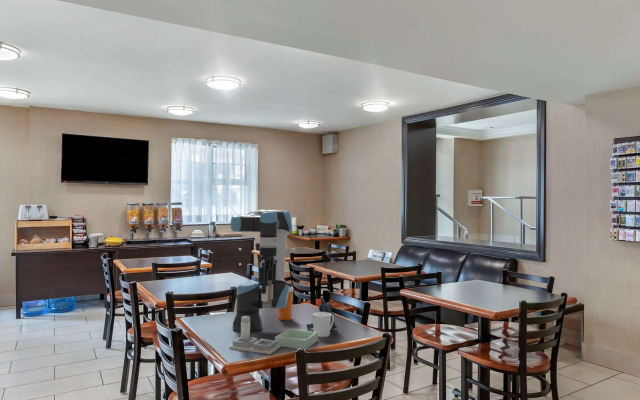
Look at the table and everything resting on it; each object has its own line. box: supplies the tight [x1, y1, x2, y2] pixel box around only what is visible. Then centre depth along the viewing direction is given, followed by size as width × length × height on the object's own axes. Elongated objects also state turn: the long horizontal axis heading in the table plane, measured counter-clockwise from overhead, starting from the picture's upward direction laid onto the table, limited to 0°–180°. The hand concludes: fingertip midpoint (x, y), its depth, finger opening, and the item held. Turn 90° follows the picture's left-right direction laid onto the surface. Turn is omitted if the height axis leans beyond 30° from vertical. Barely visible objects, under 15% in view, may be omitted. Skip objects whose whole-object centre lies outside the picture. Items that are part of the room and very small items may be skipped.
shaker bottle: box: [277, 282, 294, 321], centre depth 240 cm, size 9×9×20 cm
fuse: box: [240, 316, 251, 342], centre depth 189 cm, size 4×4×12 cm
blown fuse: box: [261, 279, 272, 309], centre depth 186 cm, size 4×4×12 cm
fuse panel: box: [228, 336, 281, 355], centre depth 187 cm, size 20×10×3 cm, turn 69°
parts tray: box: [274, 328, 319, 350], centre depth 195 cm, size 15×15×4 cm
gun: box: [306, 296, 338, 331], centre depth 218 cm, size 3×17×15 cm
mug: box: [312, 311, 335, 338], centre depth 209 cm, size 11×9×10 cm
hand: (267, 299), depth 186 cm, fingers closed on blown fuse, 4 cm apart
